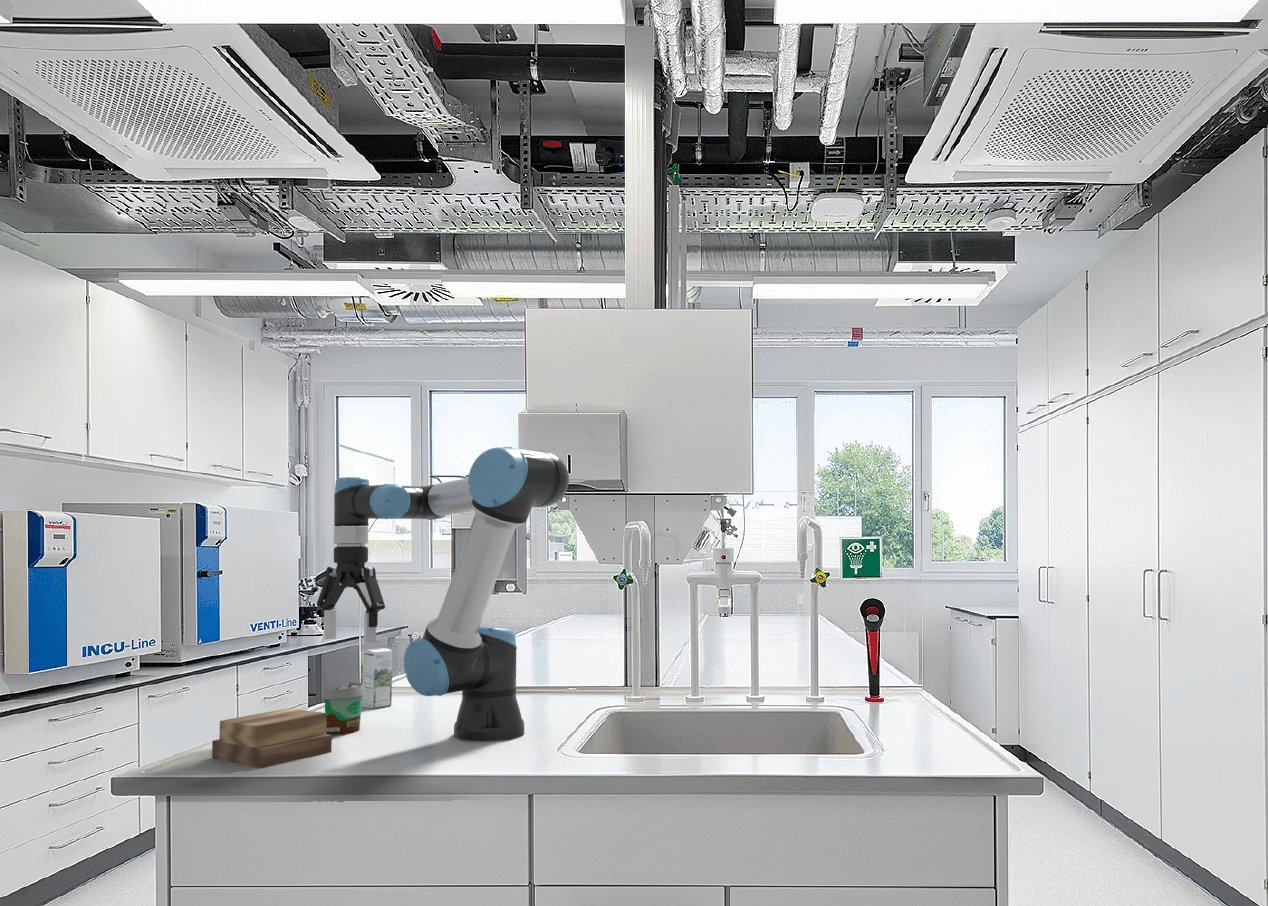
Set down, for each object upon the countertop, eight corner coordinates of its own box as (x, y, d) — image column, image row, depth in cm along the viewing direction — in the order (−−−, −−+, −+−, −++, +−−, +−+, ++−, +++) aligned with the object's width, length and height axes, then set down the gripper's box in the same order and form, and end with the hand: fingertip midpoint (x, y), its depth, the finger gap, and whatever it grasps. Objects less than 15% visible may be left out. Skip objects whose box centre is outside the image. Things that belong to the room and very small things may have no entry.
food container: (348, 737, 211) (349, 690, 212) (322, 736, 213) (323, 689, 213) (374, 726, 223) (375, 681, 224) (349, 725, 225) (350, 681, 226)
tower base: (331, 755, 197) (331, 734, 197) (261, 771, 184) (261, 749, 184) (281, 746, 206) (282, 727, 206) (211, 761, 193) (212, 740, 193)
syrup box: (378, 704, 254) (378, 647, 255) (392, 706, 250) (392, 648, 251) (359, 707, 250) (360, 649, 251) (373, 709, 246) (374, 651, 247)
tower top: (326, 733, 199) (326, 713, 199) (256, 747, 185) (257, 726, 186) (288, 727, 205) (289, 708, 206) (219, 741, 192) (219, 720, 193)
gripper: (401, 545, 218) (400, 642, 216) (328, 545, 232) (327, 636, 230) (375, 545, 212) (374, 645, 210) (302, 545, 226) (300, 639, 224)
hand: (349, 640), depth 220 cm, fingers open, 13 cm apart
